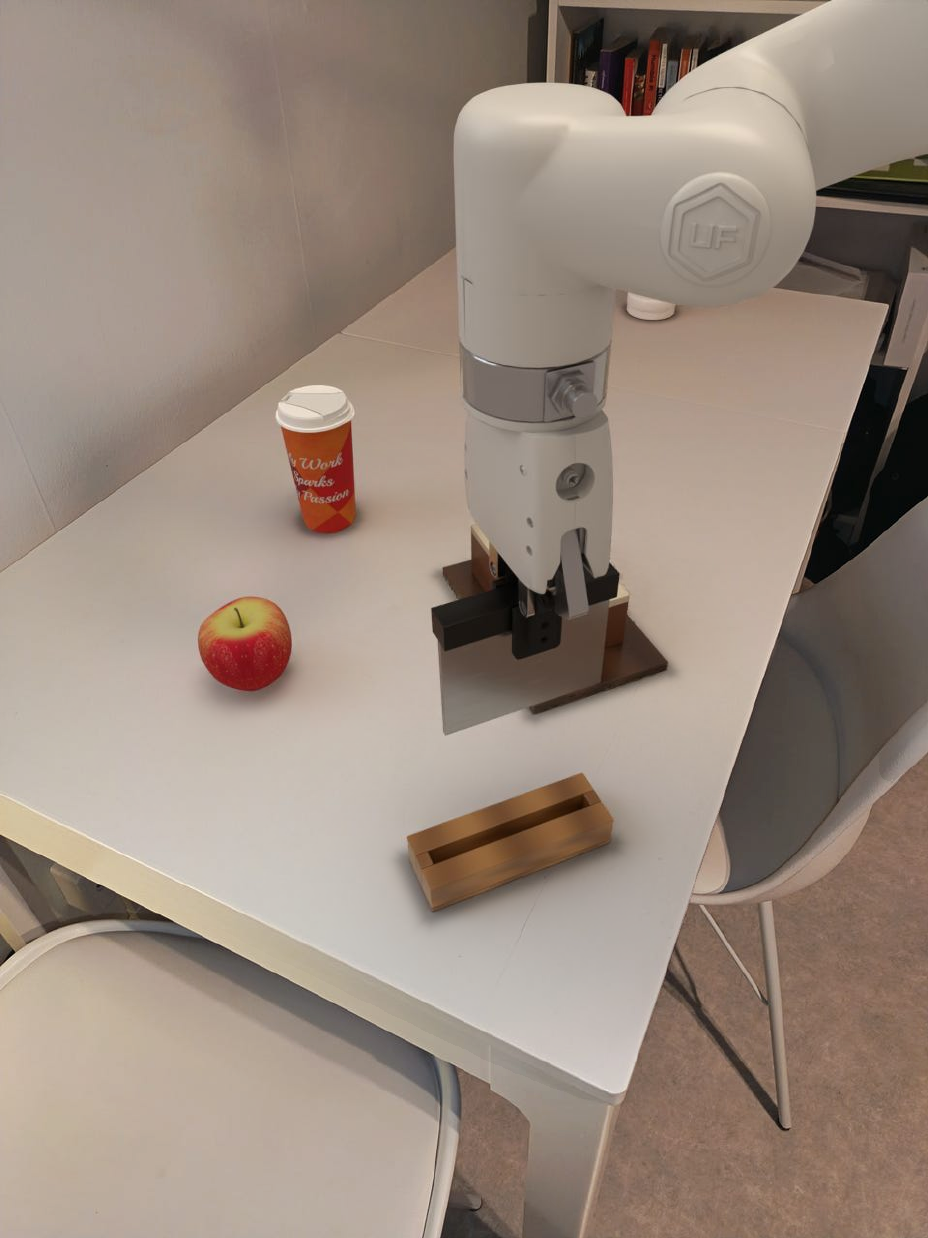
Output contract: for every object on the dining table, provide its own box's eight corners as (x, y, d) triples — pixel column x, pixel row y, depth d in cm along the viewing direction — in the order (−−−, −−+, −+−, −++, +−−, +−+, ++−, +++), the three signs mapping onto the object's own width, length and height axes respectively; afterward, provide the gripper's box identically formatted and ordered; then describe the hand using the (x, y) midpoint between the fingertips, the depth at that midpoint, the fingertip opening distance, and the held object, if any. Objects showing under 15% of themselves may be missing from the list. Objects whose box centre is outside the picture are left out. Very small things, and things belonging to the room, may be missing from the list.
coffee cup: (282, 532, 101) (259, 414, 91) (312, 493, 107) (294, 378, 97) (350, 544, 99) (335, 424, 89) (376, 504, 105) (365, 387, 95)
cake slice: (605, 620, 87) (610, 572, 83) (623, 642, 85) (630, 594, 81) (522, 646, 85) (524, 598, 81) (539, 669, 82) (541, 621, 78)
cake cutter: (592, 671, 64) (604, 555, 57) (606, 689, 62) (620, 573, 55) (438, 724, 60) (430, 607, 53) (449, 744, 59) (443, 627, 52)
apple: (210, 717, 80) (185, 635, 73) (208, 653, 86) (185, 573, 79) (302, 700, 81) (285, 618, 74) (293, 639, 87) (277, 559, 81)
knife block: (579, 795, 73) (582, 772, 71) (610, 842, 69) (614, 819, 67) (408, 858, 68) (406, 835, 66) (432, 912, 65) (430, 890, 63)
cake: (558, 542, 99) (562, 488, 94) (667, 669, 83) (677, 613, 79) (442, 574, 95) (440, 520, 90) (533, 714, 79) (536, 658, 75)
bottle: (679, 305, 147) (709, 99, 127) (669, 323, 141) (699, 112, 121) (632, 298, 149) (654, 96, 129) (620, 316, 144) (641, 108, 124)
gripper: (686, 424, 40) (642, 701, 53) (529, 301, 51) (523, 554, 64) (540, 462, 38) (529, 742, 50) (408, 326, 49) (426, 582, 61)
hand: (526, 635), depth 57 cm, fingers closed on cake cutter, 2 cm apart
